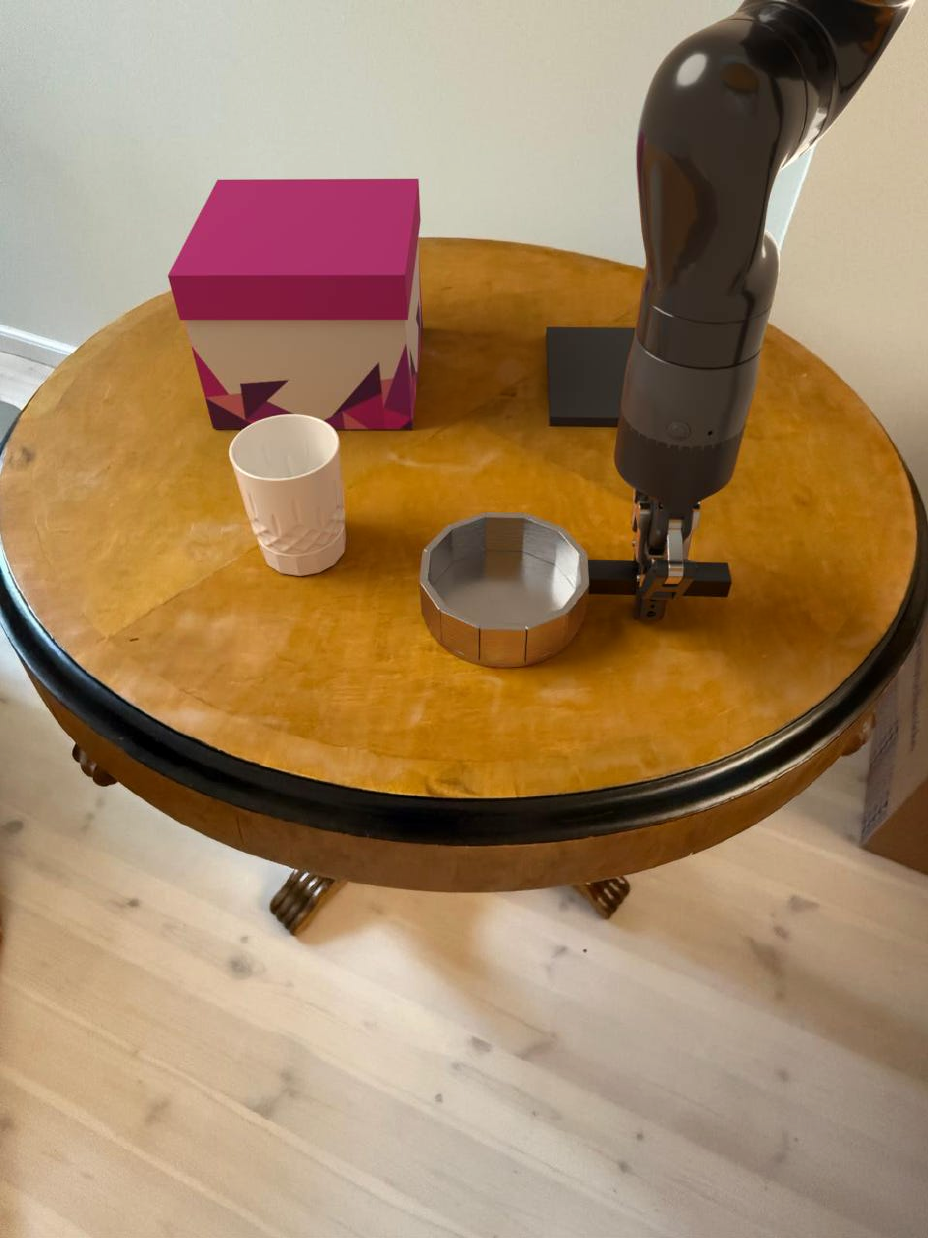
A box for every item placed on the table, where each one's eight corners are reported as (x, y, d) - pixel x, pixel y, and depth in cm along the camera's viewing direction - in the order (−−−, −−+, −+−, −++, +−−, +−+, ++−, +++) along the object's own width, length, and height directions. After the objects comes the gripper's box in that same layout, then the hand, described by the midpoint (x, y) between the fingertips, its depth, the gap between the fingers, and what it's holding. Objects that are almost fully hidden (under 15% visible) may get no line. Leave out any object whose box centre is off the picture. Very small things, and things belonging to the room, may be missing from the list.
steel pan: (417, 666, 63) (414, 627, 60) (428, 549, 71) (426, 510, 68) (731, 674, 63) (744, 635, 59) (707, 555, 71) (717, 516, 68)
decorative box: (425, 325, 95) (418, 178, 84) (415, 432, 82) (404, 274, 71) (247, 325, 95) (217, 179, 84) (209, 431, 83) (167, 275, 72)
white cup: (320, 594, 68) (301, 491, 61) (235, 564, 71) (206, 462, 63) (371, 531, 73) (359, 429, 66) (289, 505, 75) (269, 403, 68)
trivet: (700, 336, 93) (702, 327, 92) (724, 428, 82) (727, 419, 81) (546, 335, 93) (546, 326, 93) (549, 425, 83) (550, 416, 82)
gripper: (769, 478, 49) (709, 678, 62) (729, 343, 58) (684, 541, 71) (631, 476, 49) (599, 675, 62) (613, 342, 58) (589, 539, 71)
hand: (645, 603), depth 66 cm, fingers closed on steel pan, 2 cm apart
